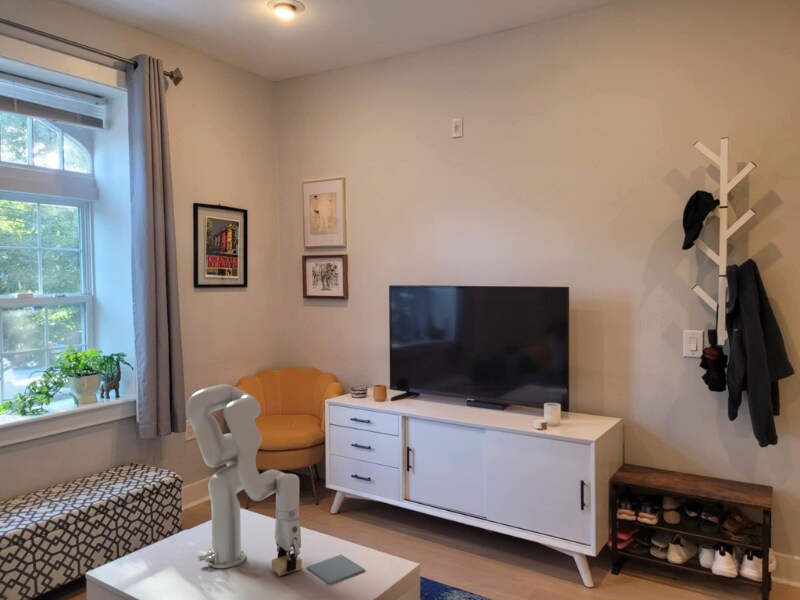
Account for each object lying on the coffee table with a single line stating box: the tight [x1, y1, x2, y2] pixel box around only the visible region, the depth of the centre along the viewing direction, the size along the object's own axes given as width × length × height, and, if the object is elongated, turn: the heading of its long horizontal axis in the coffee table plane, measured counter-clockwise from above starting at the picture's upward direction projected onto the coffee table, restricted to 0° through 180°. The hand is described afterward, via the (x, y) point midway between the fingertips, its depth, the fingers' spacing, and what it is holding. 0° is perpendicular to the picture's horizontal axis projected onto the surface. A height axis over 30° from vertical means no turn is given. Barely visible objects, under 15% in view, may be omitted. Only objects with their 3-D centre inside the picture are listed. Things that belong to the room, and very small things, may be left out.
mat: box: [305, 554, 366, 586], centre depth 193 cm, size 14×14×1 cm
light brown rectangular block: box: [271, 552, 303, 576], centre depth 193 cm, size 8×6×3 cm
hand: (286, 566), depth 193 cm, fingers closed on light brown rectangular block, 5 cm apart
